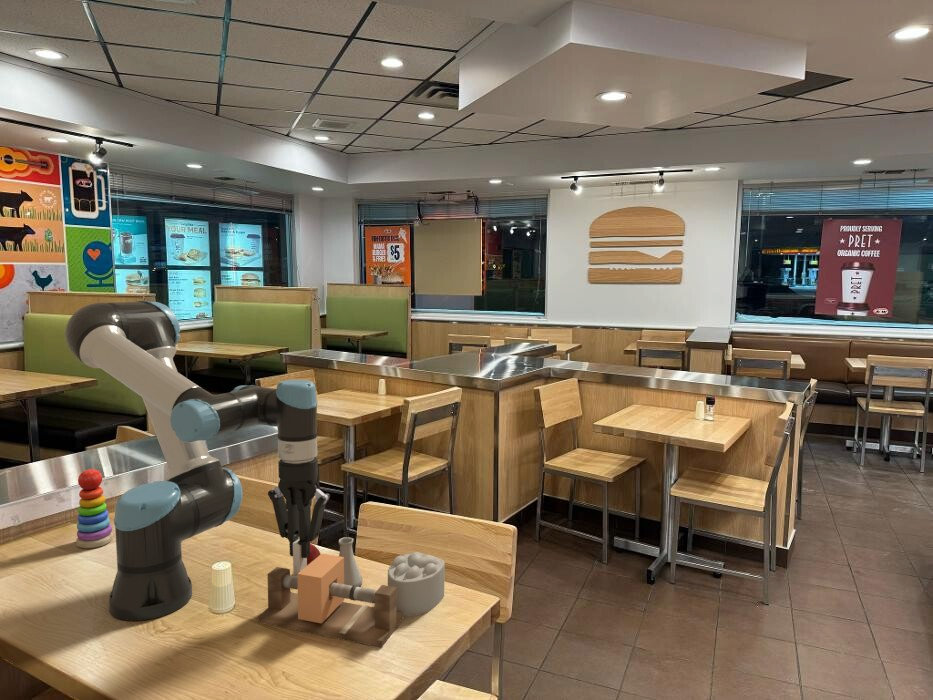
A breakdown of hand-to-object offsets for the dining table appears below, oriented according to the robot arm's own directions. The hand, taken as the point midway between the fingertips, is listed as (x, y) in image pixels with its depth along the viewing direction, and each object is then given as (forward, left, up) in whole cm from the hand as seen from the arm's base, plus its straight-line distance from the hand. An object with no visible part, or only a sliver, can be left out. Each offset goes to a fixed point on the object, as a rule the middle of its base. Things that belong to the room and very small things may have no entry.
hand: (300, 571), depth 126 cm
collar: (+7, -3, -5) cm, 9 cm away
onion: (-5, +12, -7) cm, 15 cm away
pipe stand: (+9, -3, -7) cm, 12 cm away
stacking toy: (-63, +10, -7) cm, 64 cm away
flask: (+5, +11, -7) cm, 14 cm away
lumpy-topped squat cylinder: (+21, +9, -7) cm, 24 cm away
